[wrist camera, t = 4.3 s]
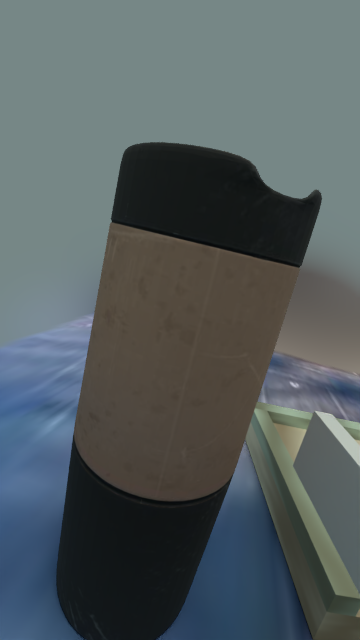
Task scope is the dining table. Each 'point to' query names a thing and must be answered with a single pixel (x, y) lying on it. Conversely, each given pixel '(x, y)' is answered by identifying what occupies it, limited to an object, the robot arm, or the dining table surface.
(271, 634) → the dining table surface
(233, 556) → the dining table surface
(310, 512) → the tray
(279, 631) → the dining table surface
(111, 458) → the travel mug
